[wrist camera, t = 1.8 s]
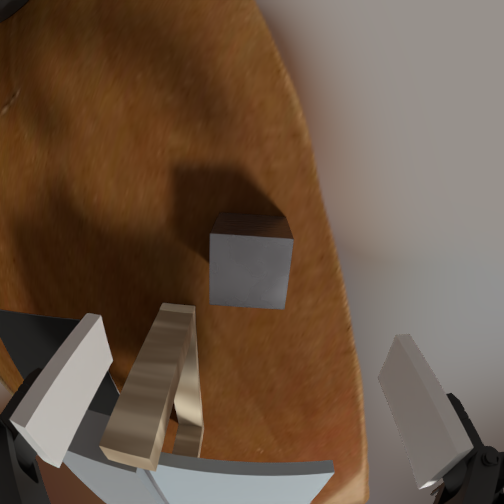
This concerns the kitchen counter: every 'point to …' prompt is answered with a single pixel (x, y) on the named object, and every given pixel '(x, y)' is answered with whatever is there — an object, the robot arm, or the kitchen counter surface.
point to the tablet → (47, 349)
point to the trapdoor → (189, 475)
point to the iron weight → (250, 260)
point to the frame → (159, 394)
